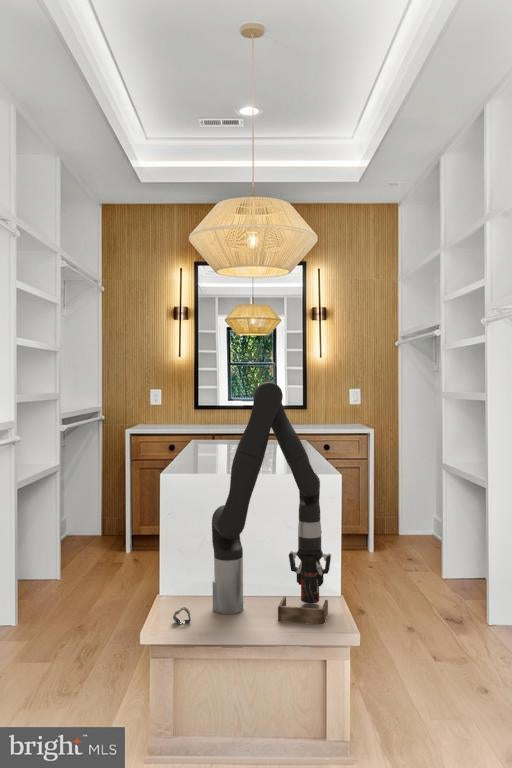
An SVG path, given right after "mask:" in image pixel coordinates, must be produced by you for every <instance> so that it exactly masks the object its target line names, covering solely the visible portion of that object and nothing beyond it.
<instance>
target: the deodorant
mask: <svg viewBox="0 0 512 768" xmlns="http://www.w3.org/2000/svg"><path fill="white" fill-rule="evenodd" d="M301 561H302V564H301V565H302V568H301V585H300V600H301V602H302V603H305V604H316V603H319V601H320V586H318V575H319V573H318V569H317V568H316V566H317V565H316V561H317V562H318V556H314V557H312V556H304V555H301V560H300V562H301ZM318 564H319V562H318Z"/></svg>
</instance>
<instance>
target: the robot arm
mask: <svg viewBox="0 0 512 768" xmlns="http://www.w3.org/2000/svg"><path fill="white" fill-rule="evenodd" d="M283 396H284V395H283V391H282V388H281V387H280V385H278V384H277V383H275V382H273V381H264V382H262V383H260V384H258V385H257V386H256V387H255V389H254V390H253V395H252V398H253V404H252V407H251V408H252V409H251V412H250V416H249V420H248V422H247V425H246V427H245V430H244V431H243V433H242V435H241V437H240V439H239V442H238V444H237V446H236V449H235V453H234V456H233V460H232V464H231V469H230V480H229V481H230V482H229V483H230V484H229V492H228V496H227V499H226V501H225V504H224V505H220V506H218V507H217V508H216V509H215V510H214V511H213V514H212V519H211V536H212V537H211V539H212V540H211V542H212V548H213V558H214V559H213V561H214V563H213V565H214V569H213V571H214V572H213V573H214V577H213V578H214V580H212V612H217V613H218V614H223V615H236V614H239V613H241V612H242V611H243V610H244V562H243V561H244V559H243V558H244V554H243V553H244V552H243V545H242V541H241V534H242V533H243V531H244V529H245V525H246V522H247V517H248V512H249V507H250V501H251V498H252V494H253V492H254V489H255V486H256V485H257V484H256V483H257V480H258V477H259V474H260V471H261V468H262V465H263V463H264V459H265V455H266V450H267V447H268V442H269V438H270V432H271V430H272V432H273V433H274V436H275V438H276V442H277V443H278V445H279V448H280V450H281V453H282V455H283V457H284V460H285V461H286V464H287V466H288V467H289V469H290V470H291V474H292V476H293V479H294V482H295V484H296V486H297V489H298V493H299V496H298V497H299V504H298V525H297V539H298V541H297V544H298V545H297V546H298V548H297V549H298V550H297V551H289V553H288V559H289V566H290V571H291V572H294V573H296V583H298V586H301V568H302V565H301V564H302V561H301V555H304V556H312V557H314V556H318V562H319V564H318V562H317V561H316V565H317V566H316V568H317V569H318V573H319V575H318V586H319V587H321V586H322V585H323V584H324V575H325V574H326V575H327V574H329V572H330V566H331V561H332V560H331V559H332V554H331V553H323V549H322V532H323V531H322V523H321V507H320V506H321V505H320V496H321V495H320V494H321V493H320V491H321V490H320V489H321V480H320V478H319V475H318V474H317V473H315V471H314V469H313V467H312V465H311V462H310V458H309V455H308V453H307V451H306V448H305V447H304V445H303V443H302V440H301V438H300V437H299V435H298V433H297V432H296V430H295V429H294V428H293V426H292V424H291V421H290V420H289V418H288V417H287V414H286V412H285V409H284V408H285V407H284V405H283V402H282V401H283V399H284V398H283ZM297 557H298V559H299V561H300V564H299V565H298V567H297V566H296V560H295V559H297ZM322 558H323V561H325V566H324V568H323V566H322V564H321V559H322Z"/></svg>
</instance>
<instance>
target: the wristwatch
mask: <svg viewBox="0 0 512 768" xmlns="http://www.w3.org/2000/svg"><path fill="white" fill-rule="evenodd" d="M182 611H184V612H186V614H187V617H188V619H183V621H185V624H187V623H188V624H189V623H190V622H191V621H192V619H191V612H190V610H189V608H187V607H185V606H183V607H181V608H180V609H179V610H176V611H175V612H174V614H173V615H172V620H173V621H174V622H175V623H176V624H177V625H178V624H180V623H181V622H180V619H179V618H178V617H177V615H179V614H180V613H181V612H182ZM180 625H181V624H180Z"/></svg>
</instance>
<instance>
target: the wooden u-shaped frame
mask: <svg viewBox="0 0 512 768" xmlns="http://www.w3.org/2000/svg"><path fill="white" fill-rule="evenodd" d="M328 614H329V599H325V600H324V603H323V605H322V608H313V607H312V608H311V607H302V606H301V607H300V606H288V605H287V596H284V595H283V597H282V598H281V600H280V602H279V604H278V606H277V621H278V622H283V623H284V622H285V623H286V622H287V623H297V624H298V623H299V624H306V623H308V624H309V625H317V624H324V623H326V621H327V618H326V617H328ZM325 620H326V621H325ZM308 624H307V625H308ZM324 625H325V624H324Z"/></svg>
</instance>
